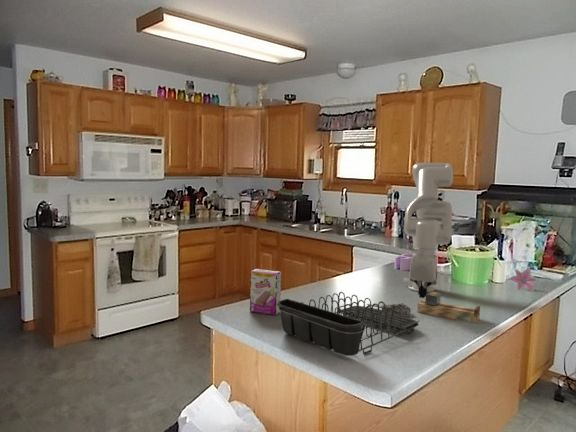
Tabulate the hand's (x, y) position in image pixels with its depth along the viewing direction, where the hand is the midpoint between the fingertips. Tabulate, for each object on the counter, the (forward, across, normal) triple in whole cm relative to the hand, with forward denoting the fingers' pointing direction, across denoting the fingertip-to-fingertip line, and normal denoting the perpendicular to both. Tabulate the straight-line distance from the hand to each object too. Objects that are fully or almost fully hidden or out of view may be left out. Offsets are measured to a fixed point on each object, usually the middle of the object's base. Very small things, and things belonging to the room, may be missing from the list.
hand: (422, 297), depth 180 cm
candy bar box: (+6, -50, -39) cm, 63 cm away
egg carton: (+6, -7, -11) cm, 14 cm away
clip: (+6, -31, +78) cm, 84 cm away
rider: (+3, +4, 0) cm, 5 cm away
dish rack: (+6, -12, -40) cm, 42 cm away
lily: (+6, +30, +65) cm, 72 cm away
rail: (+6, +10, 0) cm, 12 cm away
